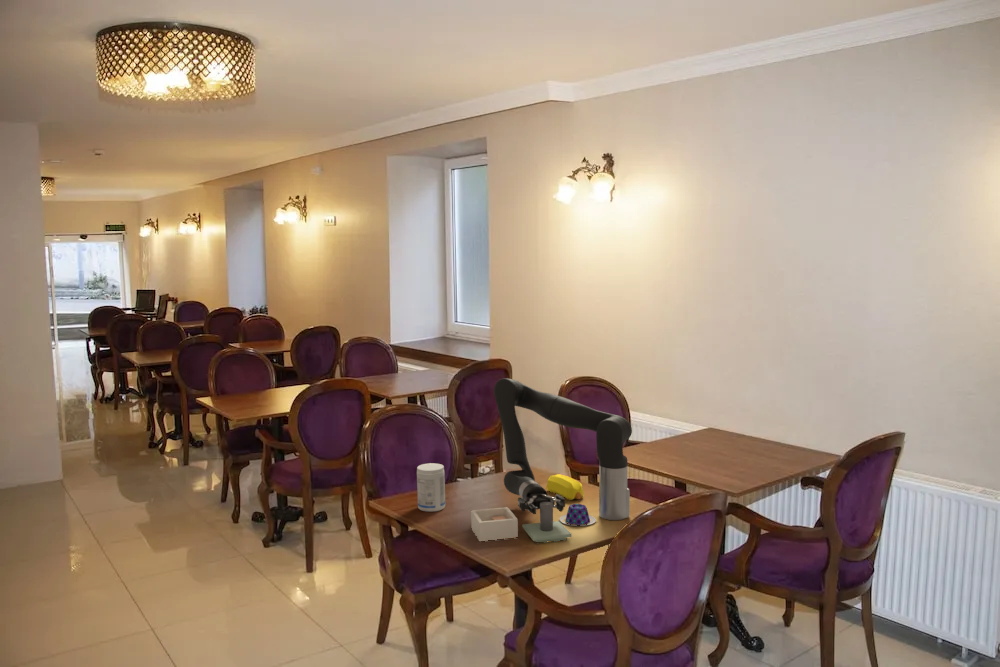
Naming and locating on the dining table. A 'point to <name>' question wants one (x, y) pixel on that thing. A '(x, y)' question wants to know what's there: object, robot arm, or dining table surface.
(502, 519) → the storage box
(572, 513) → the pudding
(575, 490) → the yellow rounded loaf
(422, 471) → the supplement tub
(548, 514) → the lid
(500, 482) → the dining table surface
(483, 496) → the dining table surface
